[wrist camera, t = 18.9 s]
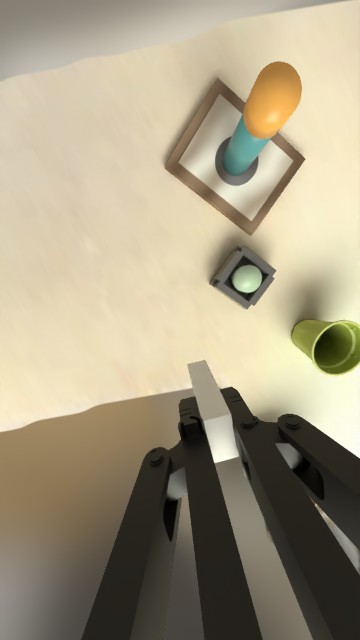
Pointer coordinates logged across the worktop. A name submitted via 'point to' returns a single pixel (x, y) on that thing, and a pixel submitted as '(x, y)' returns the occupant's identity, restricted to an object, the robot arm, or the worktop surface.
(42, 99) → the worktop surface
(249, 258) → the button housing
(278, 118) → the orange-topped post
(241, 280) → the button
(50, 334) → the worktop surface
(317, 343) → the plant pot
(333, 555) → the robot arm
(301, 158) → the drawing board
